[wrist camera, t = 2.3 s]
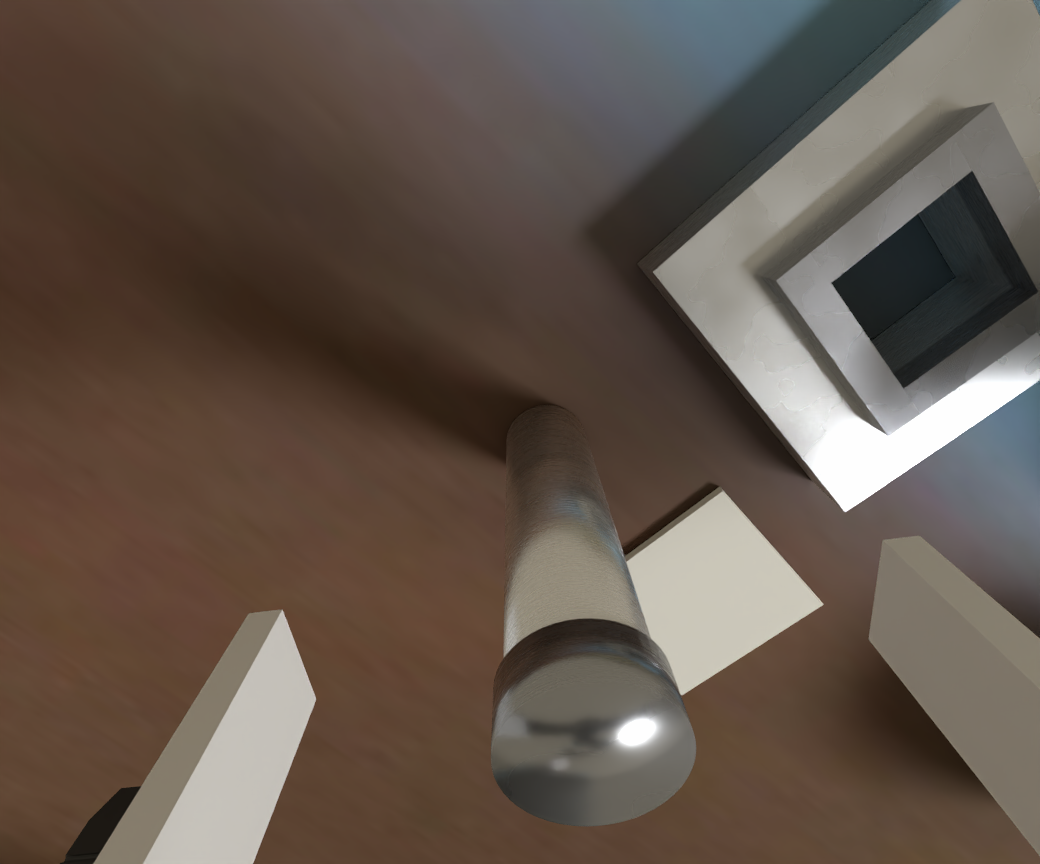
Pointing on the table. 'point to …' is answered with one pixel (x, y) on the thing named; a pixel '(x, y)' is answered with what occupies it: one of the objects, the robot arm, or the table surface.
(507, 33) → the table surface
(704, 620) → the rubber mat
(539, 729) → the shiny metal cylinder
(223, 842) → the robot arm
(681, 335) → the table surface
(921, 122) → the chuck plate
